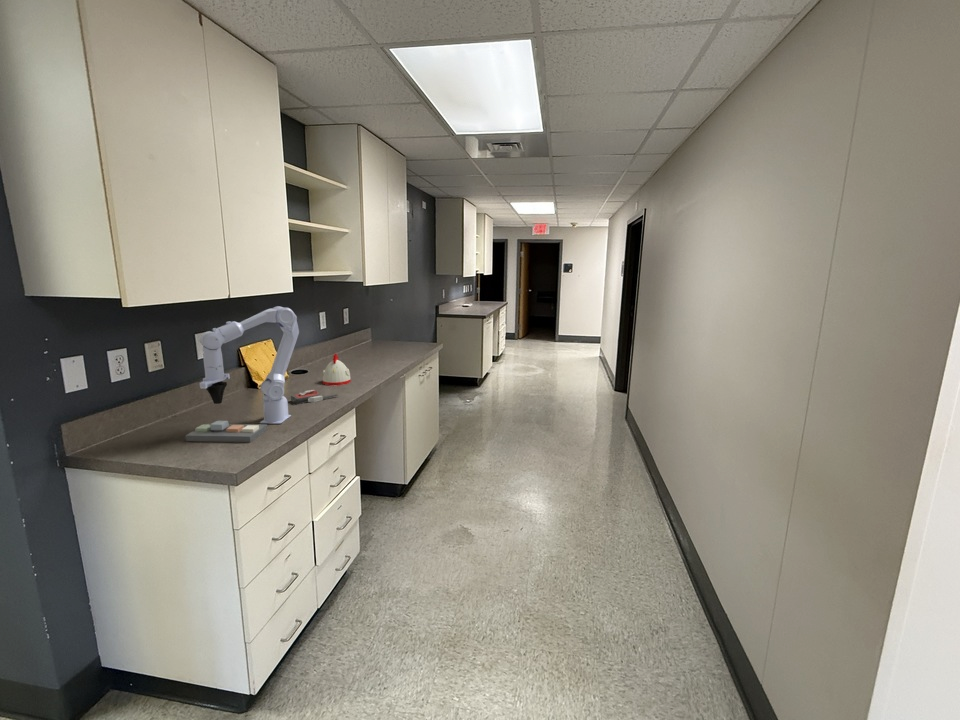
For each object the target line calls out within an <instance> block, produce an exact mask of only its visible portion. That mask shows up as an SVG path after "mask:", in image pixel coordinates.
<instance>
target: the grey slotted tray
mask: <svg viewBox="0 0 960 720" xmlns="http://www.w3.org/2000/svg"><path fill="white" fill-rule="evenodd" d="M205 424H206V425H210V424H211V423H205ZM232 425H244V427H246V426H247V425H259V429H258V430H257V431H255V432H254V433H246V432H242V430H241V431H240V432H226V430H225V431H223V432H214V430H210V431H208V432H196V431H195V430H193V431H191V432H189V433H187V434H185V442H212V443H214V442H217V443H218V442H220V443H221V442H223V443H225V442H226V443H227V442H228V443H252V442H253V441H254V440H256V439H257V438H258V437H259V436H261V435H263V434H264V433H266V432H267V431H268V424H266V423H259V424H255V423H252V424H251V423H250V424H249V423H229V426H228V427H230V426H232ZM228 427H227V428H228ZM227 428H226V429H227Z"/></svg>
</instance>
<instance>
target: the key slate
mask: <svg viewBox="0 0 960 720" xmlns="http://www.w3.org/2000/svg"><path fill="white" fill-rule="evenodd" d="M209 424H210V427H211V430H214V432H223V431H225V430H226V428H227V427H228V426H229V424H230V423H229V420H216V421H213V422H212V423H209Z"/></svg>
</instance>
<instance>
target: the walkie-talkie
mask: <svg viewBox="0 0 960 720" xmlns="http://www.w3.org/2000/svg"><path fill="white" fill-rule="evenodd" d="M337 396H338V397H339V394H338V393H335V394H330V395H329V394H328V395H325V396H324V395H322V394H321V393H320V392H318V391H317V390H315V389H310V390H304V392H299V393H297V394H295V395H294V394H293V395H291V396H290V402H292V403H293V404H295V405H300V404H304V403H316V402H322V401H324V400H325V399H329V398H333V397H337Z"/></svg>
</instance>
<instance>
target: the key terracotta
mask: <svg viewBox="0 0 960 720" xmlns="http://www.w3.org/2000/svg"><path fill="white" fill-rule="evenodd" d="M243 428H244V425H232V426H230V427H228V428H227V429H226V432H240V431H241V430H242V429H243Z"/></svg>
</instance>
